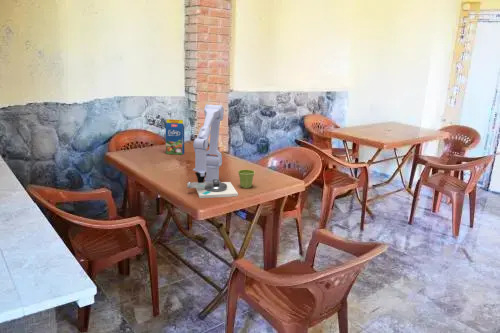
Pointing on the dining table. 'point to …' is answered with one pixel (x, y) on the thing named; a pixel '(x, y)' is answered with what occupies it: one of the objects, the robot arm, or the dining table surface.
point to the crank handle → (209, 185)
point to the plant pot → (246, 178)
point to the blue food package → (174, 137)
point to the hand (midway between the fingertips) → (200, 185)
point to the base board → (209, 194)
